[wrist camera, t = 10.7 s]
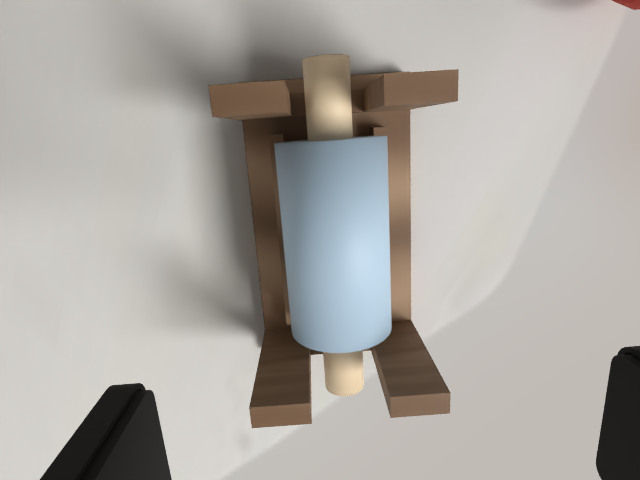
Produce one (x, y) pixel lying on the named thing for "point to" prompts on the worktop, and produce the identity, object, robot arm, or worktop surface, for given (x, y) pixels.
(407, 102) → the holder
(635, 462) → the robot arm
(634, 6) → the onion
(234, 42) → the worktop surface
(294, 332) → the blue rolling pin
